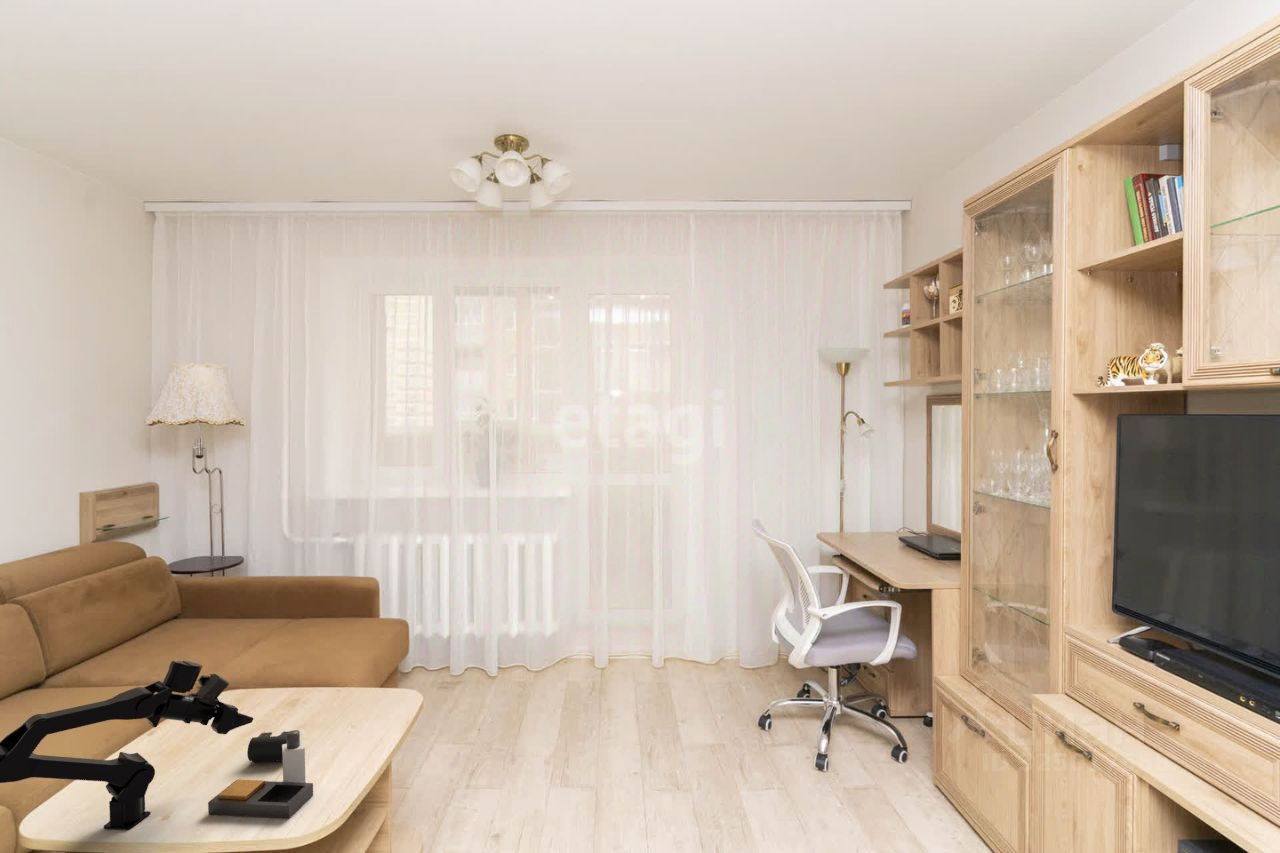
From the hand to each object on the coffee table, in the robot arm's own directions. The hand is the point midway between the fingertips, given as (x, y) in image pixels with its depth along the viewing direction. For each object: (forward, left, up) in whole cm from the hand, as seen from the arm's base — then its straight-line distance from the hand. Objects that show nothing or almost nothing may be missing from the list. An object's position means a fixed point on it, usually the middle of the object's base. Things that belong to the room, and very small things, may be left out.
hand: (244, 715), depth 183 cm
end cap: (+8, -2, -16) cm, 18 cm away
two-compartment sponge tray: (-13, -13, -16) cm, 24 cm away
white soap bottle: (-3, -15, -16) cm, 22 cm away
